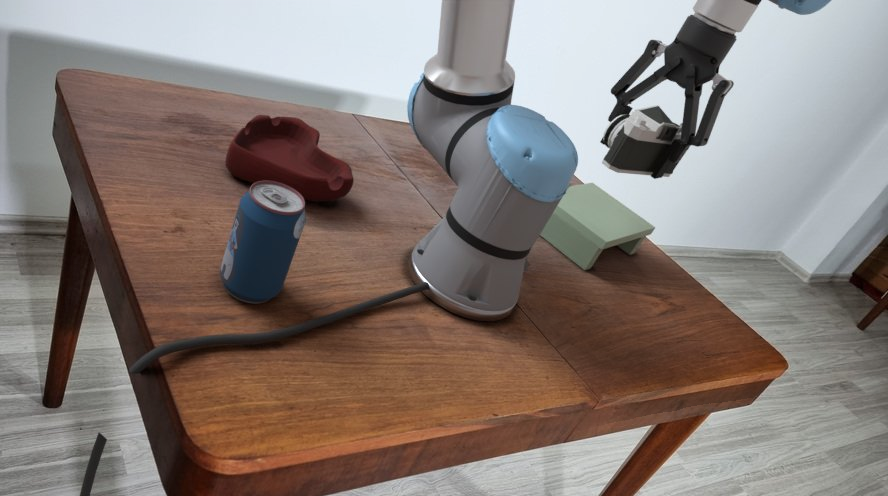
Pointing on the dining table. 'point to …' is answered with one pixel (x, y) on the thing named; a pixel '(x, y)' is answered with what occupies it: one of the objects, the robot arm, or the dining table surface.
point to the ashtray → (288, 159)
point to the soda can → (262, 241)
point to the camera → (640, 141)
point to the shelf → (593, 225)
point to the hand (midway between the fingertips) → (630, 159)
